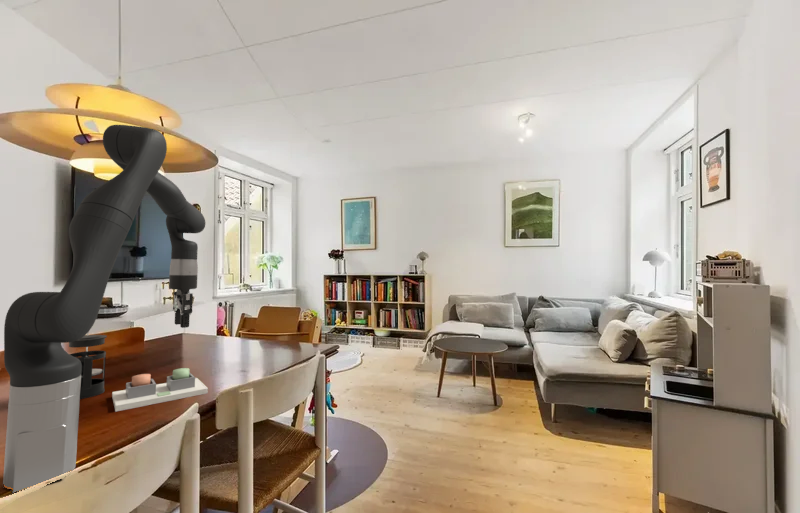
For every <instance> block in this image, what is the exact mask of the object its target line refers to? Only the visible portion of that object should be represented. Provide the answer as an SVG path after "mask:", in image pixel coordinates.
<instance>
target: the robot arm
mask: <svg viewBox="0 0 800 513" xmlns="http://www.w3.org/2000/svg"><path fill="white" fill-rule="evenodd" d="M102 145H103V147H104V148H103V149H104V150H105V152H106V154H107V156H108V157H109V158H110V159H111V160H112V161H113V162H114V163H115V164H116V165H117V166H118V167H119V168H121V172H119V173H118V174H117V175H115V176H113V178H110V179H109V180H107V181H106V182H105V183H104V182H103V184H101V185H99V186H98V187H96V188H95V189H93V190H92V191H90V192H89V193H88V194H87V195H86V196H85V197H84V198H83V199H82V201H81V202H80V204H79V206H78V207H77V209H76V211H75V213H74V214H73V217H72V219H71V221H70V224H69V226H68V227H69V228H68V236H69V241H70V242H69V244H70V245H71V250H72V254H73V264H72V268H71V271H70V274H69V276H68V279H67V280H66V282H65V284H64V286H63V288H62V289H61V291H53V292H52V291H34V292H28V293H25V294H23V295H21V296H19V297H17V299H15V300H14V301H13V302H12V303H11V305H10V307H9V308H8V310H7V312H6V316H5V320H4V325H3V326H4V328H3V342H4V343H3V345H4V346H3V347H4V349H3V352H4V354H3V362H4V368H5V371H6V373H8V375H9V391H8V392H9V393H8V395H9V396H8V405H7V407H8V408H7V417H6V418H7V421H6V434H5V435H6V436H5V447H4V448H5V450H4V460H3V461H4V462H3V463H4V465H3V476H2V477H3V479H2V485H3V484H4V485H5V486H7V487H11V488H13V491H12V490H11V491H12V492H11V493H12V494H15V493H14V492H16V491H19V490H22V489H24V488H27V487H30V486H33V485H36V484H38V483H41V482H43V481H46V480H49V479H51V478H53V477H56V476H59V475H61V474H64V473H66V472H68V471H70V470H72V471H74V469H76V466H77V464H76V463H77V450H78V433H79V432H78V431H79V419H80V418H79V416H80V415H79V414H80V400H81V399H80V386H81V369H82V364H81V361H80V360H79V359H78V358H76V357H74V356H72V355H70V354H71V353H68V352H67V351H66V350H65V349H64V347H63V346H62V343H63V344H64V343H69V342H74V341H77V340H79V339H81V338H82V337H84V336H85V335H87V333H88V332H89V333H90V330H91V329H92V328H93V326H94V324H95V322H96V320H97V319H98V314H99V311H100V309H101V306H102V302H103V300H104V299H103V298H104V295H105V292H106V289H107V286H108V282H109V279H110V276H111V274H112V271H113V268H114V265H115V264H116V260H117V258H118V255H119V254H120V250H121V248H122V246H123V244H124V242H125V240H126V238H127V236H128V233H129V231H130V230H131V227H132V225H133V223H134V220H135V217H136V215H137V212H138V210H139V207H140V205H141V203H142V201H143V199H144V197H145V196H146V195H145V194H146V193H148V194H149V196H151V197H152V199H153V200H154V202H155V203H156V204H157V206H158V207H159V209H161V211H162V213H163V214H165V215H166V218H165V225H166V229H167V233H168V235H169V240H170V247H171V252H170V254H171V258H170V263H169V277H168V278H169V280H168V289H170V290H176V291H174V292H173V306H172V310H173V311H174V324H175V325H176V326H177V325H180V328H182V329H184V328H189V327H190V316H191V314H192V313H193V297H194V295H193V293H191V292H190V290H196V289H197V288H198V273H199V272H198V271H199V267H198V251H199V250H198V243H197V242H196V241H193V240H187V239H185V238H184V236H183V234H199V233H202V232H203V231H204V229H205V228H206V219H205V217H204V215H203V214H202V211H201V210H199V209H198V208H197V207H195V206H194V205H193V204H192V203H191V202H189V201H188V200H187V199H186V196H185V195H184V193H182V191H181V189H180V188H179V187H178V186H177V185H176V184H175V183H174V182H173V181H172V180H170V179H169V178H167V177H166V176H165V175H163V174H162V173H160V172H159V171H160V169H161V167H162V165H163V164H164V162H165V159H166V155H167V152H168V150H167V149H168V146H167V145H168V144H167V140H166V138H165V136H164V134H163V133H161V131H159V130H158V129H154V128H150V127H144V126H136V125H128V124H112V125H109V126H107V127H106V129H104V132H103V135H102ZM96 318H97V319H96ZM16 493H17V492H16Z"/></svg>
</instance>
